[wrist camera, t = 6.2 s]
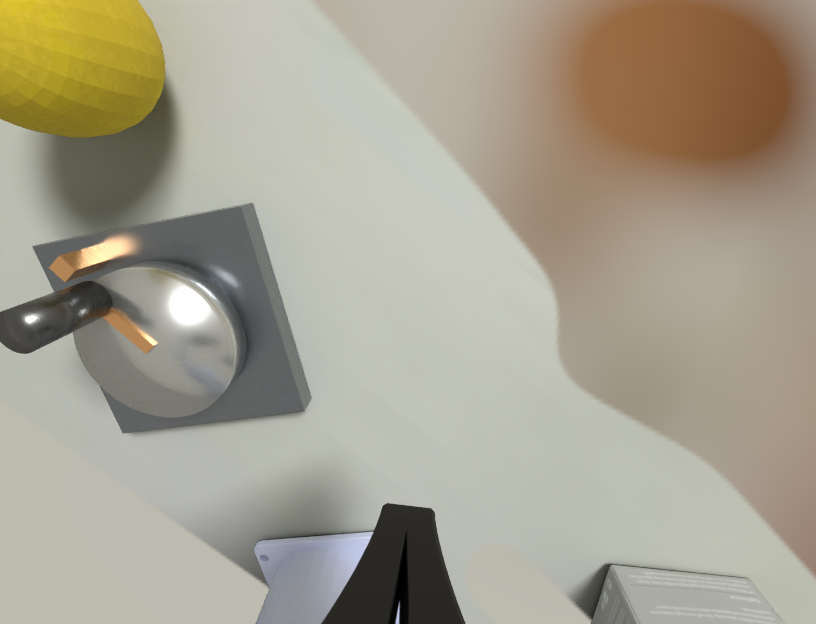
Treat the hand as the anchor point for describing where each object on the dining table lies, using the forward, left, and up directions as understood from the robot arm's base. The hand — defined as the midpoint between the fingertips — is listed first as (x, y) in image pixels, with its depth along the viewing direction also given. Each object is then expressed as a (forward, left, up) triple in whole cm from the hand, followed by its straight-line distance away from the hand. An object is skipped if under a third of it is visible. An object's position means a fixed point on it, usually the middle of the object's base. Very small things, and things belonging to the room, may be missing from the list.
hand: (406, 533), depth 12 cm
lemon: (+15, +9, -10) cm, 20 cm away
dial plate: (+4, +11, -10) cm, 15 cm away
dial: (+4, +11, -9) cm, 14 cm away
